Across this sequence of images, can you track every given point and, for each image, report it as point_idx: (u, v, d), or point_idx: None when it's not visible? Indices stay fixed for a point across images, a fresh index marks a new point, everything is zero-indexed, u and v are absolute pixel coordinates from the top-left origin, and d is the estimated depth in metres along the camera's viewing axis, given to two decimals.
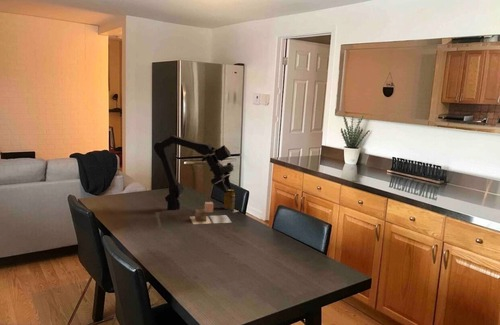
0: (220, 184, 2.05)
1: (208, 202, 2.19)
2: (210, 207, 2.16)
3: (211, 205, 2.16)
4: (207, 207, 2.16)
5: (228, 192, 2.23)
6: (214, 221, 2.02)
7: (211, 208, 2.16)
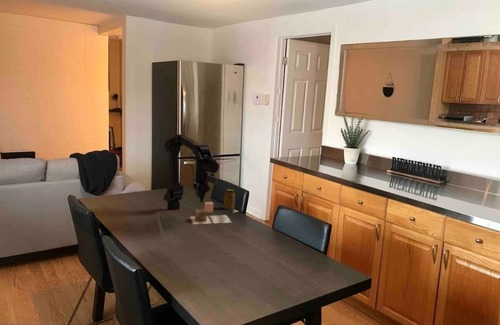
0: (201, 192, 1.95)
1: (208, 202, 2.19)
2: (210, 207, 2.16)
3: (211, 205, 2.16)
4: (207, 207, 2.16)
5: (228, 192, 2.23)
6: (214, 221, 2.02)
7: (211, 208, 2.16)
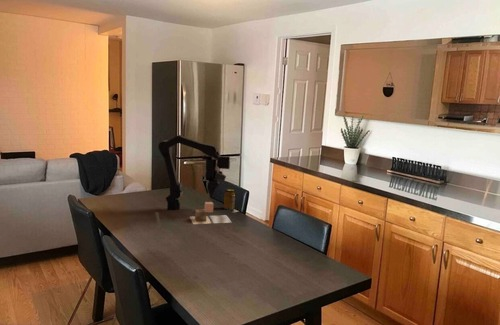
0: (211, 188, 2.10)
1: (208, 202, 2.19)
2: (210, 207, 2.16)
3: (211, 205, 2.16)
4: (207, 207, 2.16)
5: (228, 192, 2.23)
6: (214, 221, 2.02)
7: (211, 208, 2.16)
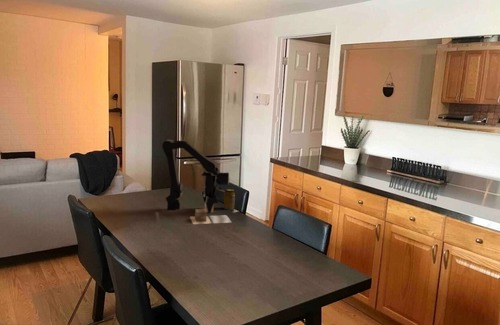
0: (209, 203, 2.14)
1: None
2: None
3: None
4: None
5: (228, 192, 2.23)
6: (214, 221, 2.02)
7: None
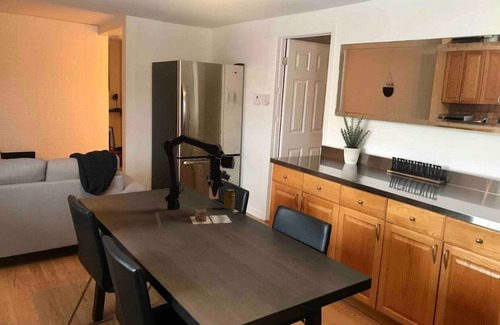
0: (215, 187, 2.09)
1: None
2: None
3: None
4: None
5: (228, 192, 2.23)
6: (214, 221, 2.02)
7: None
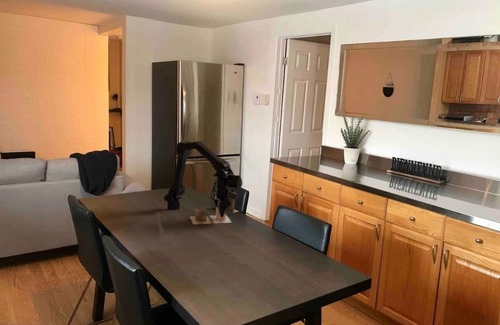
0: (222, 207, 2.00)
1: None
2: None
3: None
4: (219, 212, 2.03)
5: None
6: (214, 221, 2.02)
7: None
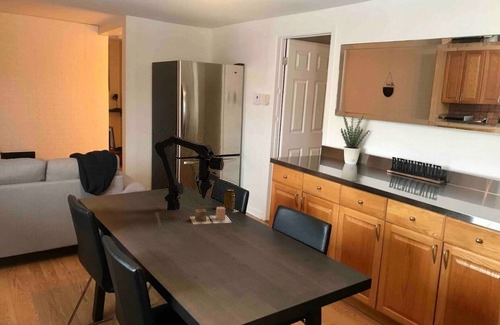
0: (204, 189, 2.06)
1: (220, 207, 2.06)
2: (222, 212, 2.04)
3: (223, 210, 2.04)
4: (219, 212, 2.03)
5: (228, 192, 2.23)
6: (214, 221, 2.02)
7: (223, 213, 2.04)
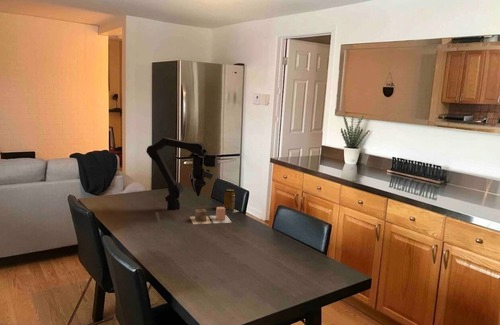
0: (198, 187, 2.09)
1: (220, 207, 2.06)
2: (222, 212, 2.04)
3: (223, 210, 2.04)
4: (219, 212, 2.03)
5: (228, 192, 2.23)
6: (214, 221, 2.02)
7: (223, 213, 2.04)
